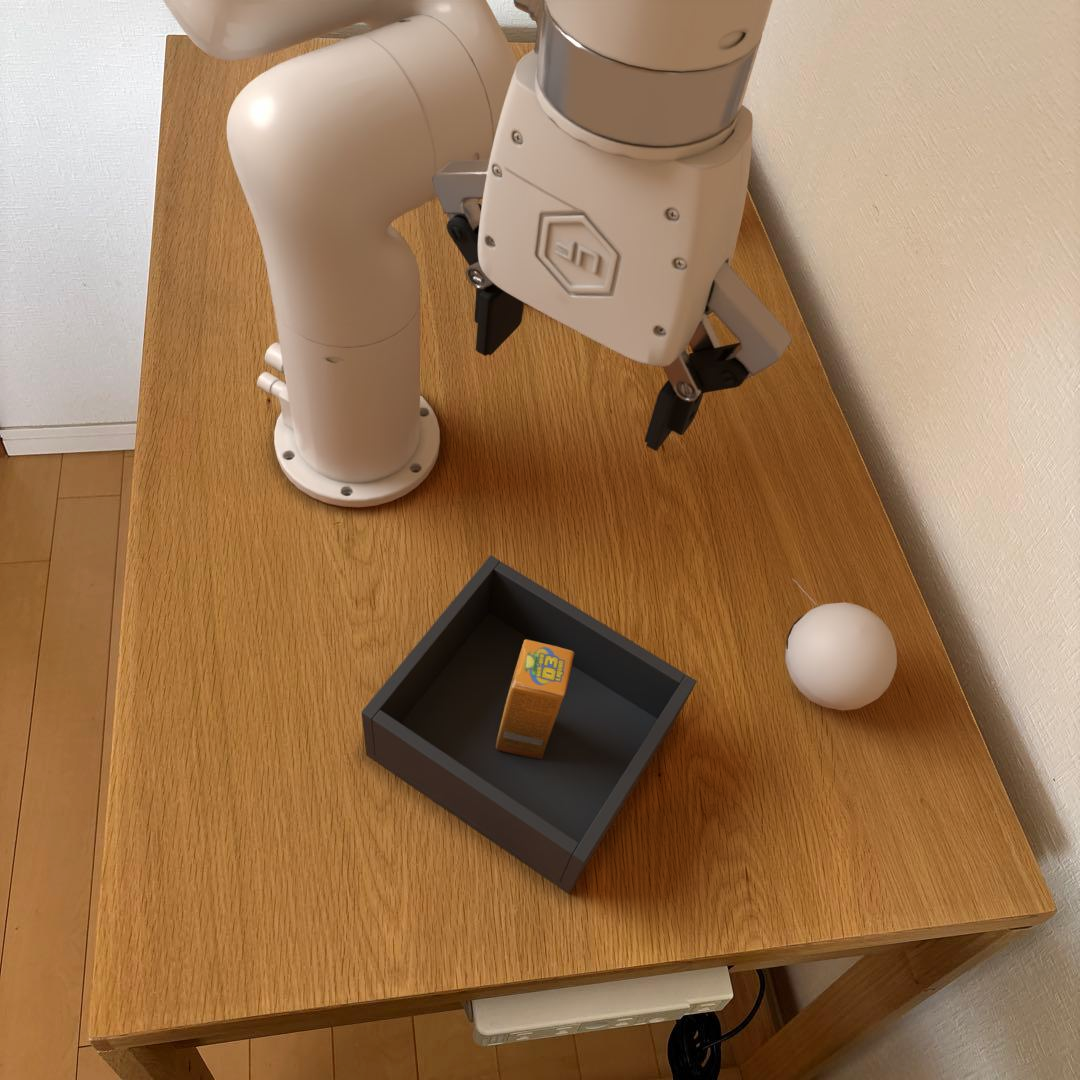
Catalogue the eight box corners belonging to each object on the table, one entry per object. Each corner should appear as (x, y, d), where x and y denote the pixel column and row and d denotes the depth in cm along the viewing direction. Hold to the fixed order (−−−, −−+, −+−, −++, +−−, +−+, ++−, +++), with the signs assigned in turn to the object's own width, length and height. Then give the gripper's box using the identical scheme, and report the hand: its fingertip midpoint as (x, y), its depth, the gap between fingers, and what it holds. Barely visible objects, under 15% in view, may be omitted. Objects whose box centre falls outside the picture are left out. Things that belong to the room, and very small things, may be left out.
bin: (365, 755, 66) (360, 711, 60) (484, 606, 73) (490, 554, 67) (568, 894, 63) (584, 862, 57) (673, 724, 70) (697, 680, 64)
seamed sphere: (890, 717, 72) (935, 671, 65) (793, 736, 70) (829, 691, 64) (837, 594, 77) (873, 541, 71) (745, 609, 75) (774, 556, 69)
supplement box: (546, 763, 66) (564, 699, 58) (494, 751, 66) (505, 685, 58) (556, 716, 68) (575, 648, 60) (505, 705, 68) (517, 635, 60)
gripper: (382, 8, 36) (392, 347, 50) (822, 219, 32) (697, 521, 47) (500, -72, 40) (478, 264, 54) (907, 108, 36) (768, 419, 50)
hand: (580, 383), depth 50 cm, fingers open, 9 cm apart
